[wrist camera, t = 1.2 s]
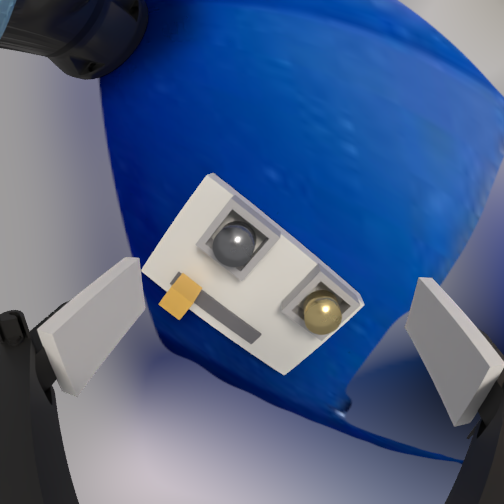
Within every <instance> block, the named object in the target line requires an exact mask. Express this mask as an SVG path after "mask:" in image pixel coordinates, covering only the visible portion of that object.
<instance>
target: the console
mask: <svg viewBox="0 0 504 504" xmlns="http://www.w3.org/2000/svg"><path fill="white" fill-rule="evenodd" d="M232 221H241V222H245V223H247V224H248V225H250V226H251V227H252V229H253V230H254V232H255V234H256V246H255V249H254V252H253V254H252V257H251V259H250V260H249V261H248V262H247V263H246V264H245V265H243V266H240V267H228V266H225V265H223V264H222V263H220V262H219V261H218V260H217V259H216V257H215V255H214V253H213V241H214V238H215V237H216V235H217V234H218V233H219V232H220V230H221V229H222V228H223V227H224V226H225V225H226V224H228V223H230V222H232ZM141 271H142V272H143V273H144V274H145V275H147V276H148V277H149V278H150V279H152V280H153V281H154V282H155V283H157V284H158V285H159V286H160V287H162V288H163V289H164V290H165V291H167V292H168V290H169V289H170V288H171V286H172V285H173V284H174V283H175V281H176V280H177V279H178V278H179V277H180V275H181V274H182V273H184V274H185V275H186V276H188V277H189V278H190V279H192V280H193V281H194V282H195V283H197V284H198V285H199V286H201V287H202V290H201V291H200V293H199V295H198V296H197V298H196V300H195V301H194V303H193V304H192V306H191V307H190V308H189V309H190V310H191V311H192V312H194V313H195V314H196V315H198V316H199V317H200V318H202V319H203V320H204V321H206V322H207V323H209V324H210V325H211V326H213V327H214V328H215V329H217V330H218V331H220V332H221V333H222V334H224V335H225V336H227V337H228V338H229V339H231V340H232V341H234V342H235V343H236V344H238V345H239V346H241V347H242V348H244V349H245V350H247V351H248V352H250V353H251V354H252V355H254V356H255V357H257V358H258V359H260V360H261V361H263V362H264V363H266V364H267V365H269V366H270V367H272V368H273V369H275V370H277V371H278V372H280V373H281V374H283V375H285V374H287V373H288V372H289V371H290V370H292V369H293V368H294V367H295V366H297V365H298V364H299V363H300V362H301V361H303V360H304V359H305V358H306V357H307V356H309V355H310V354H311V353H312V352H313V351H314V350H316V349H317V348H318V347H319V346H320V345H321V344H323V343H324V342H325V341H326V340H327V339H328V338H329V337H331V336H332V335H333V334H334V333H335V332H336V331H337V330H338V329H339V328H340V327H342V326H343V325H344V324H345V323H346V322H347V321H348V320H349V319H350V318H351V317H352V316H353V315H354V314H356V313H357V312H358V311H359V310H360V309H361V308H362V307H363V306H364V305H365V304H364V302H363V300H362V298H361V296H360V294H359V293H358V292H357V291H356V290H355V289H354V288H352V287H351V286H350V285H349V284H348V283H347V282H346V281H344V280H343V279H342V278H341V277H340V276H339V275H337V274H336V273H335V272H334V271H333V270H332V269H330V268H329V267H328V266H327V265H326V264H325V263H323V262H322V261H321V260H320V259H319V258H318V257H316V256H315V255H314V254H313V253H312V252H310V251H309V250H308V249H307V248H306V247H304V246H303V245H302V244H301V243H300V242H298V241H297V240H296V239H295V238H294V237H292V236H291V235H290V234H289V233H288V232H286V231H285V230H284V229H283V228H282V227H280V226H279V225H278V224H277V223H275V222H274V221H273V220H272V219H271V218H269V217H268V216H267V215H266V214H264V213H263V212H262V211H261V210H259V209H258V208H257V207H256V206H255V205H253V204H252V203H251V202H250V201H248V200H247V199H246V198H245V197H243V196H242V195H241V194H240V193H238V192H237V191H236V190H234V189H233V188H232V187H231V186H229V185H228V184H227V183H226V182H224V181H223V180H222V179H220V178H219V177H218V176H217V175H215V174H214V173H212V174H208V175H206V177H205V178H204V179H203V181H202V182H201V184H200V185H199V186H198V188H197V189H196V190H195V192H194V193H193V194H192V196H191V197H190V199H189V200H188V201H187V203H186V204H185V206H184V207H183V209H182V210H181V211H180V213H179V214H178V216H177V217H176V219H175V220H174V221H173V223H172V224H171V226H170V227H169V229H168V230H167V232H166V233H165V235H164V236H163V238H162V239H161V241H160V242H159V244H158V245H157V247H156V248H155V250H154V251H153V253H152V254H151V256H150V257H149V259H148V260H147V262H146V264H145V265H144V267H143V268H142V270H141ZM317 290H327V291H330V292H331V293H333V294H334V295H335V296H336V298H337V300H338V304H339V307H340V310H341V314H342V321H341V323H340V325H339V327H338V328H337V329H336V330H335V331H333V332H331V333H329V334H325V335H318V334H314V333H312V332H311V331H309V330H308V329H307V327H306V325H305V321H304V307H303V305H304V301H305V299H306V297H307V296H308V295H309V294H311V293H312V292H314V291H317Z"/></svg>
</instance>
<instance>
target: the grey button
mask: <svg viewBox="0 0 504 504" xmlns="http://www.w3.org/2000/svg"><path fill="white" fill-rule="evenodd" d="M255 246H256V234H255V232H254V230H253V229H252V227H251V226H250V225H248V224H247V223H245V222H241V221H232V222H230V223H228V224H226V225H225V226H224V227H223V228H222V229H221V230H220V232H219V233H218V234H217V235H216V237H215V238H214V241H213V253H214V255H215V257H216V259H217V260H218V261H219V262H220V263H222V264H223V265H225V266H228V267H240V266H243V265H245V264H246V263H247V262H248V261H249V260H250V259H251V257H252V254H253V252H254V249H255Z"/></svg>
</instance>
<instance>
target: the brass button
mask: <svg viewBox="0 0 504 504" xmlns="http://www.w3.org/2000/svg"><path fill="white" fill-rule="evenodd" d="M303 307H304V321H305V325H306V327H307V329H308V330H309V331H311V332H312V333H314V334H318V335H325V334H329V333H331V332H333V331H335V330H336V329H337V328H338V327H339V325H340V323H341V321H342V314H341V310H340V307H339V304H338V300H337V298H336V296H335V295H334V294H333V293H331V292H330V291H327V290H317V291H314V292H312V293H311V294H309V295H308V296H307V297H306V299H305V301H304V305H303Z"/></svg>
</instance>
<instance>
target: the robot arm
mask: <svg viewBox="0 0 504 504" xmlns="http://www.w3.org/2000/svg"><path fill="white" fill-rule="evenodd" d="M147 23H148V8H147V5H146V3H145V1H144V0H0V48H4V49H10V50H16V51H21V52H26V53H31V54H36V55H41V56H45V57H48V58H49V59H50V60H51V61H52V62H53V63H54V64H55V65H57V66H58V67H59V68H60V69H61V70H62V71H63V72H64V73H66V74H67V75H70V76H72V77H76V78H80V79H95V78H99V77H102V76H104V75H106V74H108V73H110V72H112V71H113V70H115V69H116V68H117V67H119V66H120V65H121V64H122V63H124V62H125V61H126V60H127V59H128V58H129V56H130V55H131V54H132V53H133V52H134V50H135V49H136V48H137V46H138V45H139V43H140V41H141V39H142V37H143V35H144V33H145V30H146V27H147ZM145 309H146V308H145V301H144V294H143V286H142V278H141V269H140V260H139V258H133V257H125V258H124V259H122V260H121V261H120V262H118V263H117V264H116V265H114V266H113V267H112V268H111V269H109V270H108V271H107V272H105V273H104V274H103V275H102V276H100V277H99V278H98V279H97V280H95V281H94V282H93V283H92V284H90V285H89V286H88V287H87V288H85V289H84V290H83V291H81V292H80V293H79V294H78V295H77V296H75V297H74V298H73V299H72V300H70V301H68V302H65V303H63V304H62V305H60V306H59V307H58V308H57V309H56V310H55V311H54V312H52V313H51V314H50V315H49V316H48V317H46V318H45V319H44V320H43V321H41V322H40V323H39V324H38V325H37V326H36V327H34V328H33V329H32V330H31V331H30V332H29V329H28V326H27V323H26V320H25V317H24V314H23V313H22V312H21V311H18V310H11V311H7V312H4V313H2V314H0V504H79V502H78V499H77V496H76V493H75V490H74V486H73V483H72V479H71V475H70V472H69V468H68V464H67V460H66V455H65V451H64V446H63V441H62V436H61V432H60V425H59V420H58V413H57V406H56V398H55V392H54V389H53V387H52V384H53V383H54V382H55V380H56V379H57V381H58V383H59V386H60V388H61V390H62V391H63V392H66V393H69V394H71V395H74V396H76V397H78V395H79V394H80V393H81V391H82V390H83V388H84V387H85V386H86V385H87V383H88V382H89V380H90V379H91V378H92V377H93V375H94V374H95V373H96V371H97V370H98V369H99V367H100V366H101V365H102V363H103V362H104V361H105V359H106V358H107V357H108V356H109V354H110V353H111V352H112V350H113V349H114V348H115V347H116V345H117V344H118V343H119V341H120V340H121V339H122V338H123V336H124V335H125V334H126V332H127V331H128V330H129V328H130V327H131V326H132V325H133V324H134V322H135V321H136V320H137V319H138V317H139V316H140V315H141V314H142V312H143V311H144V310H145ZM405 329H406V331H407V332H408V334H409V336H410V338H411V340H412V341H413V343H414V345H415V347H416V349H417V351H418V353H419V354H420V356H421V358H422V360H423V362H424V364H425V366H426V368H427V370H428V372H429V374H430V376H431V378H432V380H433V382H434V384H435V386H436V388H437V390H438V392H439V394H440V396H441V399H442V400H443V403H444V405H445V407H446V409H447V412H448V414H449V416H450V418H451V420H452V423H453V425H454V426H459V425H463V424H467V423H470V422H471V420H472V419H473V418H474V416H475V415H476V413H477V412H479V414H480V416H481V419H480V420H479V422H478V423H477V424H476V426H475V427H474V428H473V430H472V431H471V432H470V434H469V435H468V437H467V439H469V438H470V437H471V436H472V435H473V437H472V440H471V443H470V446H469V449H468V451H467V454H466V457H465V460H464V462H463V464H462V467H461V470H460V472H459V474H458V476H457V479H456V481H455V483H454V486H453V488H452V490H451V492H450V494H449V496H448V498H447V500H446V502H445V504H504V355H503V354H502V353H501V352H500V350H499V349H497V347H496V345H495V344H494V343H492V341H491V339H490V338H489V337H488V336H487V335H486V334H485V333H484V332H483V331H481V330H480V329H478V328H477V327H476V326H475V325H474V324H473V323H472V322H471V320H470V319H469V318H468V317H467V316H466V315H465V313H464V312H463V311H462V310H461V309H460V308H459V307H458V306H457V304H456V303H455V302H454V301H453V300H452V299H451V298H450V297H449V296H448V294H446V292H444V290H443V289H442V288H441V287H440V286H439V285H438V284H437V283H436V282H435V281H434V280H433V279H432V278H423V277H419V278H418V282H417V286H416V290H415V294H414V297H413V301H412V305H411V308H410V312H409V315H408V318H407V322H406V325H405Z"/></svg>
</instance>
